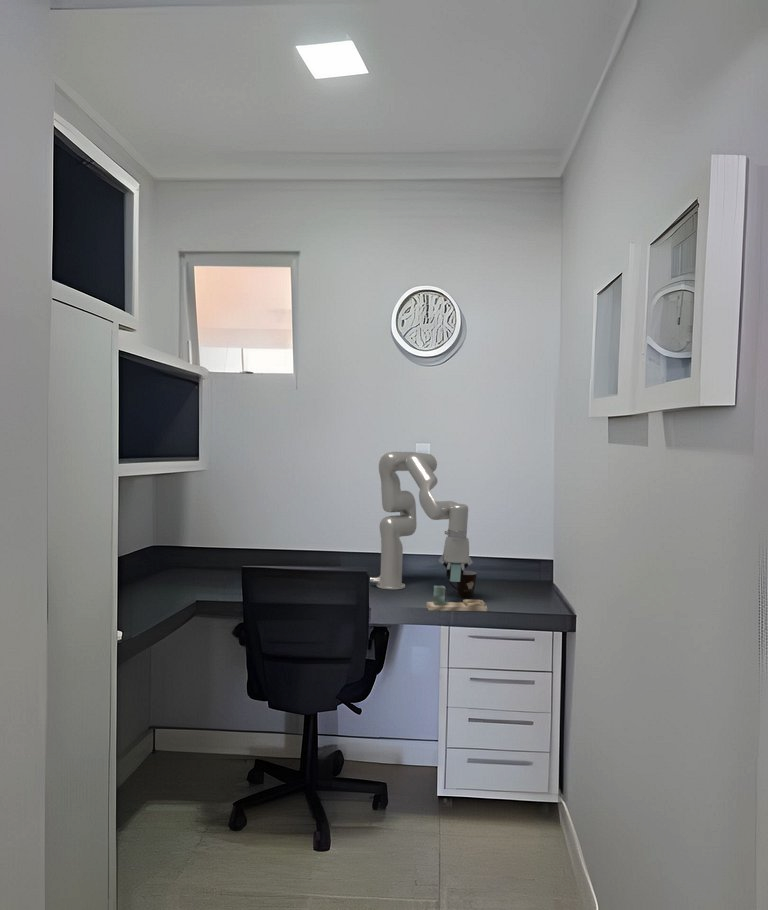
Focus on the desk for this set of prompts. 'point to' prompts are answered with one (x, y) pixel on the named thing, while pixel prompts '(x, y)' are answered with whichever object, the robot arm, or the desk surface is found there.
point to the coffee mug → (466, 585)
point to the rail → (441, 603)
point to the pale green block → (455, 572)
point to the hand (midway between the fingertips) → (454, 578)
